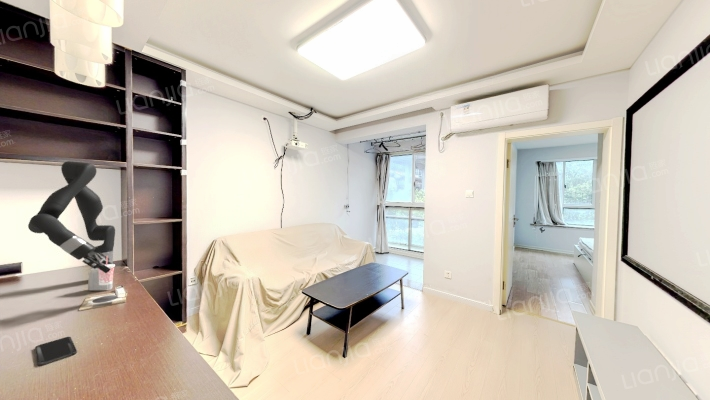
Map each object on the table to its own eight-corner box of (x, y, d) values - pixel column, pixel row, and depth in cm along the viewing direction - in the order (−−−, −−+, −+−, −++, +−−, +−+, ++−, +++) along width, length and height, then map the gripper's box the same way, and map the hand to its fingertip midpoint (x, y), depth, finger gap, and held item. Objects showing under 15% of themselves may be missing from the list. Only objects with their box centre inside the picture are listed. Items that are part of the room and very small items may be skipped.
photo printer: (114, 288, 135) (115, 266, 135) (107, 290, 131) (108, 268, 131) (93, 288, 133) (94, 266, 133) (86, 291, 129) (86, 268, 129)
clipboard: (87, 297, 121) (87, 295, 121) (127, 291, 131) (127, 288, 131) (78, 311, 108) (78, 308, 108) (124, 302, 117) (125, 300, 117)
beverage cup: (102, 286, 116) (104, 257, 116) (93, 285, 117) (94, 256, 117) (117, 282, 122) (119, 254, 122) (108, 281, 123) (109, 253, 123)
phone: (38, 364, 73) (34, 346, 81) (38, 368, 73) (34, 349, 81) (77, 351, 79) (70, 335, 88) (77, 354, 79) (70, 338, 88)
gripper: (78, 244, 109) (113, 267, 115) (92, 239, 122) (123, 260, 128) (61, 256, 107) (97, 279, 113) (77, 250, 119) (109, 271, 125)
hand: (111, 269), depth 120 cm, fingers closed on beverage cup, 6 cm apart
